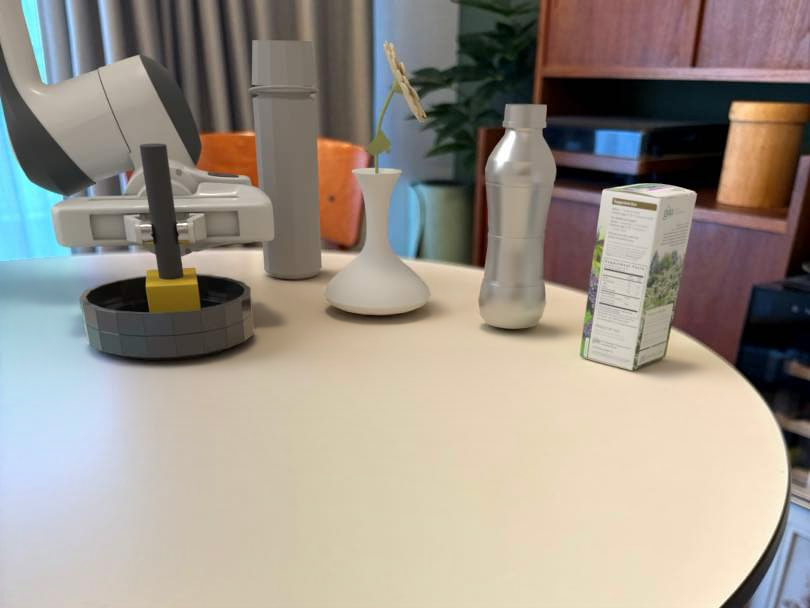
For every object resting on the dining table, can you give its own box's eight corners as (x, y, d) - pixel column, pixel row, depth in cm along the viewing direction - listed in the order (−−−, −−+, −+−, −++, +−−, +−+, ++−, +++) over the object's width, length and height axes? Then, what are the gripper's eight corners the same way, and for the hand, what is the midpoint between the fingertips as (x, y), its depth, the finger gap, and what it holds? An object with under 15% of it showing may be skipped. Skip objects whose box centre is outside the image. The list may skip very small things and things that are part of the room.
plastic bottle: (547, 336, 81) (570, 107, 71) (478, 335, 81) (491, 105, 71) (539, 319, 87) (559, 103, 77) (474, 318, 87) (486, 102, 77)
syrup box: (613, 345, 79) (636, 180, 72) (668, 359, 75) (699, 188, 68) (578, 357, 75) (599, 186, 68) (634, 373, 72) (662, 193, 65)
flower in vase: (410, 329, 83) (416, 37, 70) (307, 317, 86) (294, 36, 73) (447, 299, 94) (457, 41, 81) (353, 290, 97) (349, 40, 84)
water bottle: (329, 279, 101) (321, 41, 88) (264, 282, 99) (247, 39, 87) (318, 264, 109) (310, 42, 96) (258, 266, 107) (242, 41, 95)
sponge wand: (154, 341, 76) (124, 149, 67) (154, 322, 81) (126, 141, 72) (204, 338, 77) (180, 148, 68) (201, 319, 82) (179, 140, 73)
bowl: (102, 374, 70) (93, 321, 67) (78, 328, 82) (70, 281, 79) (275, 352, 76) (271, 303, 73) (229, 312, 87) (225, 268, 85)
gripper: (54, 178, 81) (32, 198, 69) (264, 175, 85) (277, 194, 74) (67, 245, 84) (48, 275, 73) (268, 239, 88) (281, 267, 77)
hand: (165, 234), depth 73 cm, fingers closed on sponge wand, 2 cm apart
